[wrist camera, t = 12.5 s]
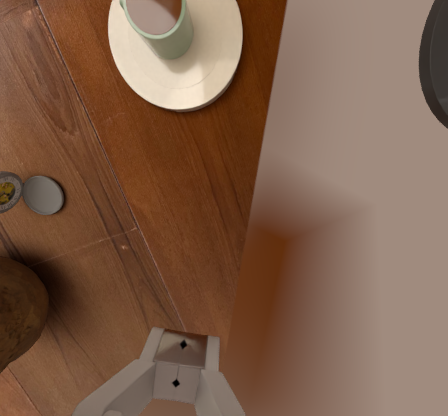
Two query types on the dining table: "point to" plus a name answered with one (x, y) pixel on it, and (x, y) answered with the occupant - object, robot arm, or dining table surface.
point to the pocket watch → (30, 193)
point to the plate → (186, 64)
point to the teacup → (161, 25)
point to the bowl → (20, 310)
